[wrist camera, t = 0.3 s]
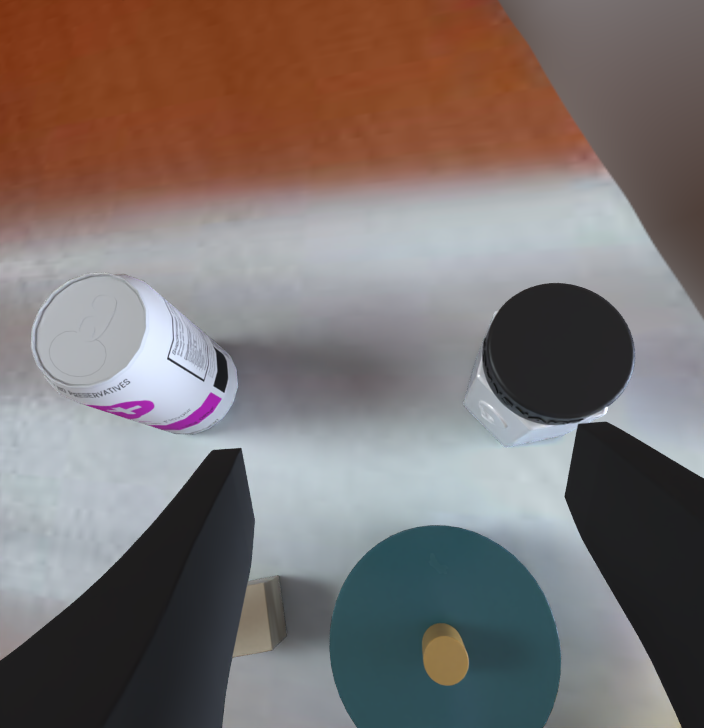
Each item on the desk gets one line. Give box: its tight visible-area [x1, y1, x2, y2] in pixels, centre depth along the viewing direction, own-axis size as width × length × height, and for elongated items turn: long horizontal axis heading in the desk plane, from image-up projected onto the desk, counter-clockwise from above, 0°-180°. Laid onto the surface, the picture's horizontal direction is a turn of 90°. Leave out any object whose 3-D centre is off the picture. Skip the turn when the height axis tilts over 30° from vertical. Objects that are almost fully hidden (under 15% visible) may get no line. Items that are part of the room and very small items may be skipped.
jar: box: [463, 283, 635, 447], centre depth 35 cm, size 9×8×12 cm
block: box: [232, 575, 287, 658], centre depth 37 cm, size 4×4×4 cm
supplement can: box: [31, 273, 238, 434], centre depth 37 cm, size 8×8×15 cm
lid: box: [329, 525, 561, 728], centre depth 30 cm, size 14×14×4 cm
